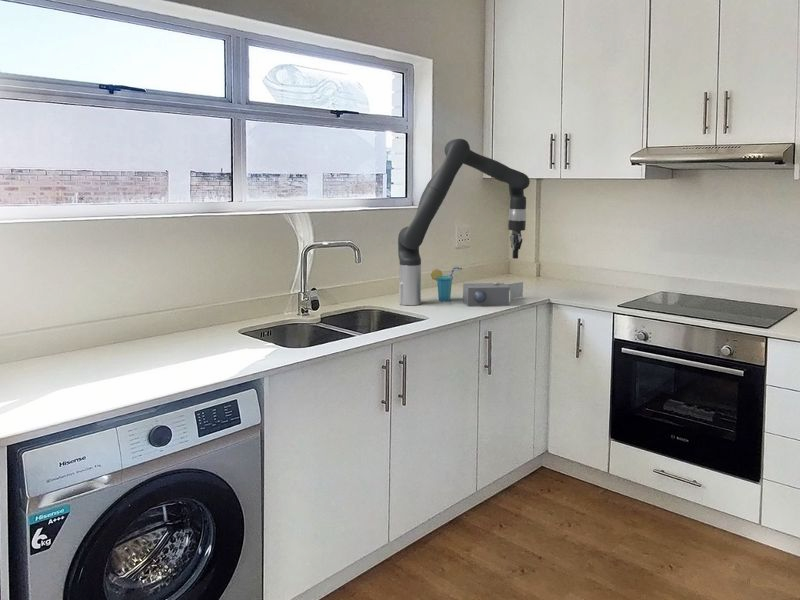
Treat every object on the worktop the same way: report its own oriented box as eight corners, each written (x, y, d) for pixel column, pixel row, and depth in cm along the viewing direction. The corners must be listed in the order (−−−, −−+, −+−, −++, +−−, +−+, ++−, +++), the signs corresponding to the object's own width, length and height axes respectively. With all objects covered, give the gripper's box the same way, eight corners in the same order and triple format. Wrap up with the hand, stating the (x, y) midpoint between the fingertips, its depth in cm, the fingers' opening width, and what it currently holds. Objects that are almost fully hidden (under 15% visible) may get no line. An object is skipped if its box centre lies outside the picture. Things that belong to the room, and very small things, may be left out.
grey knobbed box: (468, 307, 291) (469, 286, 290) (462, 301, 305) (463, 281, 303) (510, 306, 293) (511, 286, 291) (503, 300, 306) (503, 281, 305)
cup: (458, 298, 313) (458, 265, 310) (464, 301, 305) (464, 267, 302) (428, 299, 309) (429, 266, 306) (433, 302, 302) (434, 268, 299)
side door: (522, 297, 313) (523, 281, 312) (504, 300, 306) (504, 284, 304) (520, 296, 314) (520, 281, 313) (501, 299, 307) (502, 283, 306)
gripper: (505, 218, 309) (503, 256, 312) (512, 220, 296) (510, 260, 299) (521, 218, 310) (519, 256, 313) (529, 220, 297) (527, 260, 300)
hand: (515, 258), depth 306 cm, fingers closed
